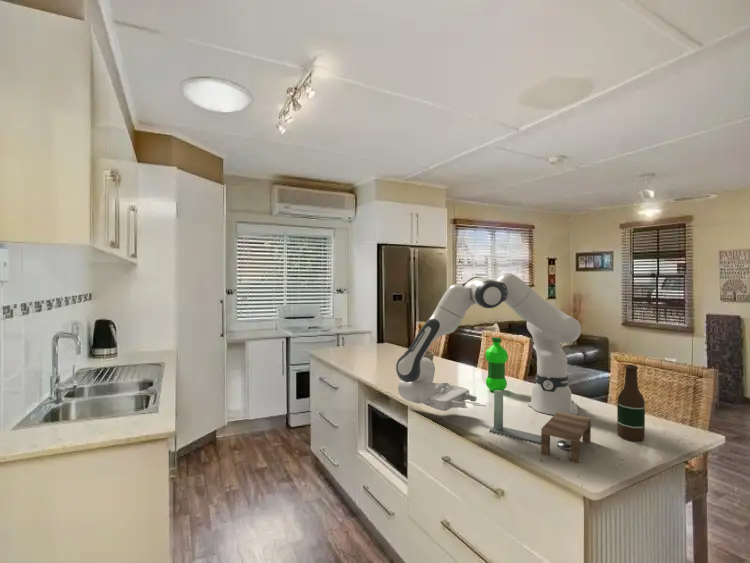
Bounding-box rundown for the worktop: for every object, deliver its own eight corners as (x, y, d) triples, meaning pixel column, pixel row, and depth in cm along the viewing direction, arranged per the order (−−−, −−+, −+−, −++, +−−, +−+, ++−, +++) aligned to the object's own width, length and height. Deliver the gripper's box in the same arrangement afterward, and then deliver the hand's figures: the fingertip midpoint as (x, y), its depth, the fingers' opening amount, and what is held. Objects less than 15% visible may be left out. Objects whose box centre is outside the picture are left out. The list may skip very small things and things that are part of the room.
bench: (557, 433, 134) (557, 411, 134) (590, 441, 127) (590, 418, 127) (541, 453, 118) (541, 428, 118) (578, 463, 112) (578, 436, 112)
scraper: (489, 432, 135) (489, 392, 135) (495, 427, 139) (496, 388, 139) (541, 445, 124) (542, 401, 124) (546, 439, 129) (547, 397, 129)
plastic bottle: (482, 387, 192) (482, 336, 192) (503, 387, 192) (503, 336, 193) (488, 393, 182) (489, 339, 182) (511, 393, 182) (511, 339, 182)
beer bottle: (614, 431, 136) (615, 362, 136) (641, 435, 133) (641, 364, 133) (619, 440, 129) (620, 366, 129) (647, 443, 126) (648, 368, 126)
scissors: (464, 408, 159) (437, 395, 177) (464, 410, 159) (437, 396, 177) (485, 405, 163) (457, 392, 182) (485, 407, 163) (457, 394, 182)
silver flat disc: (559, 443, 127) (559, 438, 127) (578, 447, 123) (578, 443, 123) (555, 448, 122) (555, 444, 122) (574, 453, 119) (574, 449, 119)
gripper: (422, 393, 142) (457, 400, 134) (448, 381, 159) (481, 387, 150) (422, 410, 142) (457, 418, 134) (448, 397, 159) (481, 404, 150)
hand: (470, 402), depth 142 cm, fingers open, 8 cm apart
